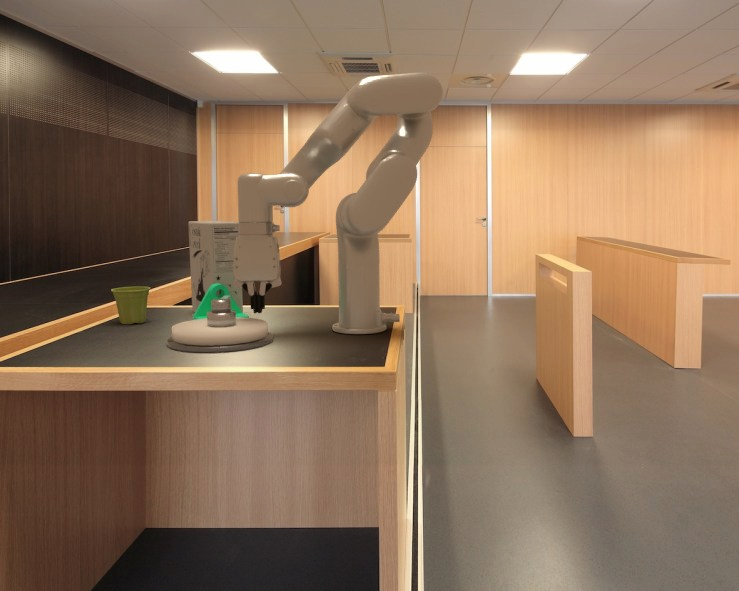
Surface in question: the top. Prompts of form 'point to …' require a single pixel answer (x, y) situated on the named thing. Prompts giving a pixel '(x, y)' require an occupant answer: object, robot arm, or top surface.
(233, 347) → the turntable base
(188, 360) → the top surface
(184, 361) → the top surface
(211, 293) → the camera mount
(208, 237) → the cereal box
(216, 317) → the cover
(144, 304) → the plant pot
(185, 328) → the turntable
